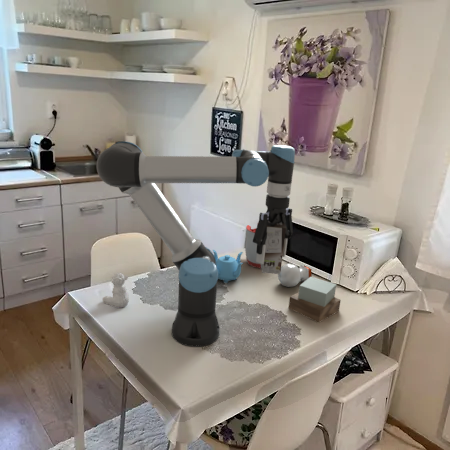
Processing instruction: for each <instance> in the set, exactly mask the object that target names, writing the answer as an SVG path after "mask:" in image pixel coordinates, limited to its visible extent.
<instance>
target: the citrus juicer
mask: <svg viewBox="0 0 450 450" xmlns="http://www.w3.org/2000/svg"><path fill="white" fill-rule="evenodd" d="M256 225H258V222H257V224H256ZM245 228H246V231H245V232H246V233H245V245H244V246H245V247H244V248H245V249H244V251H245V258H246V261H247V263H248V265H249V266H252V267H254V268H258V269H261V264H260V263H258V262H256V258H257V253H256V250H257V244H256V243H254V242H253V238H254V235H255V231H256V228H257V227H255V228H252V226H251V225H250V224H249V225H246V227H245ZM261 241H262V240H261Z"/></svg>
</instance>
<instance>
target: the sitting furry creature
mask: <svg viewBox="0 0 450 450" xmlns="http://www.w3.org/2000/svg"><path fill="white" fill-rule="evenodd" d="M128 278H129V276H128V275H124V274H123V273H121V272H117V273H114V276H112V277H111V280H110V281H111V283H112V285H113V288H112V291H111V293H112V296H110V295H105V296H103V297H102V302H103V303H104V304H105V305H108V306H111V307H114V308H117V309H118V308H119V309H120V308H122V309H123V308H125V307H126V306H127V305H128V304H129V301H130V298H129V293H128V292H127V289H126V286H125V285H124V284H125V282H126V280H128Z"/></svg>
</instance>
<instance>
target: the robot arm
mask: <svg viewBox="0 0 450 450" xmlns="http://www.w3.org/2000/svg"><path fill="white" fill-rule="evenodd" d="M270 148H271V149H270V151H268V150H267V151H262V150H251V149H250V150H247V149H244V148H243V149H233V151H232V154H231V156H202V155H201V156H191V155H190V156H189V155H186V156H184V155H183V156H181V155H180V156H178V155H173V156H172V155H171V156H170V155H168V156H167V155H164V156H163V155H162V156H161V155H160V156H159V155H150V156H149V155H146V154H145V153H144V152H143V150H142V149H141V148H140V147H139V146H138V145H137V144H135V143H134V142H131V141H118V142H115V143H114V144H111V146H109V147H107V148H106V149H104V150H103V151H102V152H101V153H100V154H99V156H98V158H97V160H96V172H97V174H98V177H99V178H100V180H102V182H104V184H106V185H108V186H110V187H114V188H118V189H119V191H120V192H121V193H122V194H125V195H126V194H127V195H130V197H131V198H132V201H134V202H135V204H136V206H137V207H138V208H139V210H140V212H141V213H142V214H143V215H144V217H145V218H146V219H147V221H148V222H149V224H150V225H151V226H152V228H153V229H154V230H155V232H156V233H157V235H158V236H159V237H160V239H161V240H162V241H163V243H164V244H165V246H166V247H167V248H168V249H169V251H170V252H171V254H172V255H171V262H172V263H173V265H174V266H175V267H176V268H177V270H178V298H177V299H178V300H177V302H178V303H177V312H176V314H175V318H174V320H173V322H172V324H171V336H172V338H173V339H174V340H175V341H176V342H178V343H179V344H182V345H184V346H188V347H204V346H208V345H211V344H214V343H215V342H216V341H217V340H218V338H219V336H220V329H221V328H220V324H219V321H218V317H217V314H216V305H217V293H218V292H217V291H218V290H217V289H218V280H219V279H218V270H217V264H216V259H215V256H214V252H213V251H212V250H211V249H210V248H208V247H207V246H205V244H204V243H203V241H202V240H201V239H197V238H194V237H193V235H192V234H191V233H190V231H189V229H188V228H187V226H185V224H184V223H183V221H182V220H181V218H180V216H179V215H178V214H177V212H176V211H175V210H174V208H173V207H172V206H171V204H170V202H169V201H168V200H167V199H166V197H165V195H164V194H163V192H162V191H161V190H160V188H159V187H158V186H157V184H246V185H248V186H250V187H259V186H262V185H263V184H265V183H266V182H267V186H266V193H267V194H266V197H265V206H266V208H267V209H266V212H260V213H259V217H258V218H259V219H258V221H257V223H258V225H257V224H256V225H257V226H256V227H255V228H256V231H255V235H254V238H253V242H254V243H256V244H257V250H256V253H257V258H256V262H258V263H261V264H264V257H265V248H266V245H265V244H264V243H265V241H266V239H267V232H266V225H268V226H274V225H275V224H276V223H281V222H282V223H284V224H285V226H286V233H285V241H284V249H283V256H282V258H286V254H287V246H288V241H289V240H290V239H291V238H292V236H293V234H294V229H293V228H294V227H293V219H292V218H293V216H292V214H293V209H292V208H290V207H289V206H290V202H291V201H290V200H291V199H290V198H291V197H290V195H291V192H292V191H291V189H292V182H293V173H294V169H295V168H294V167H295V163H296V162H295V158H296V157H295V156H296V150H295V148H294V147H292V146H290V145H284V144H283V145H281V144H278V145H277V144H275V145H274V144H273V145H272V146H271V147H270ZM268 221H269V222H270V223H269V222H268ZM261 240H262V241H261Z"/></svg>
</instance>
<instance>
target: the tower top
mask: <svg viewBox="0 0 450 450" xmlns="http://www.w3.org/2000/svg"><path fill="white" fill-rule="evenodd" d="M336 290H337V284H336V283H333V282H330V281H326V280H323V279H319V278H316V277H313V276H312V277H310V278H308V279H307V280H306V281H302V283H301V284H300V285H299V288H298V293H299V294H298V298H299V299H302V300H305V301H308V302H311V303H314V304H317V305H320V306H323V307H325V306H326V305H327V304H328V303H329V302H330V301H331V300H332V299H333V298H334V297H335V295H336Z"/></svg>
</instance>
